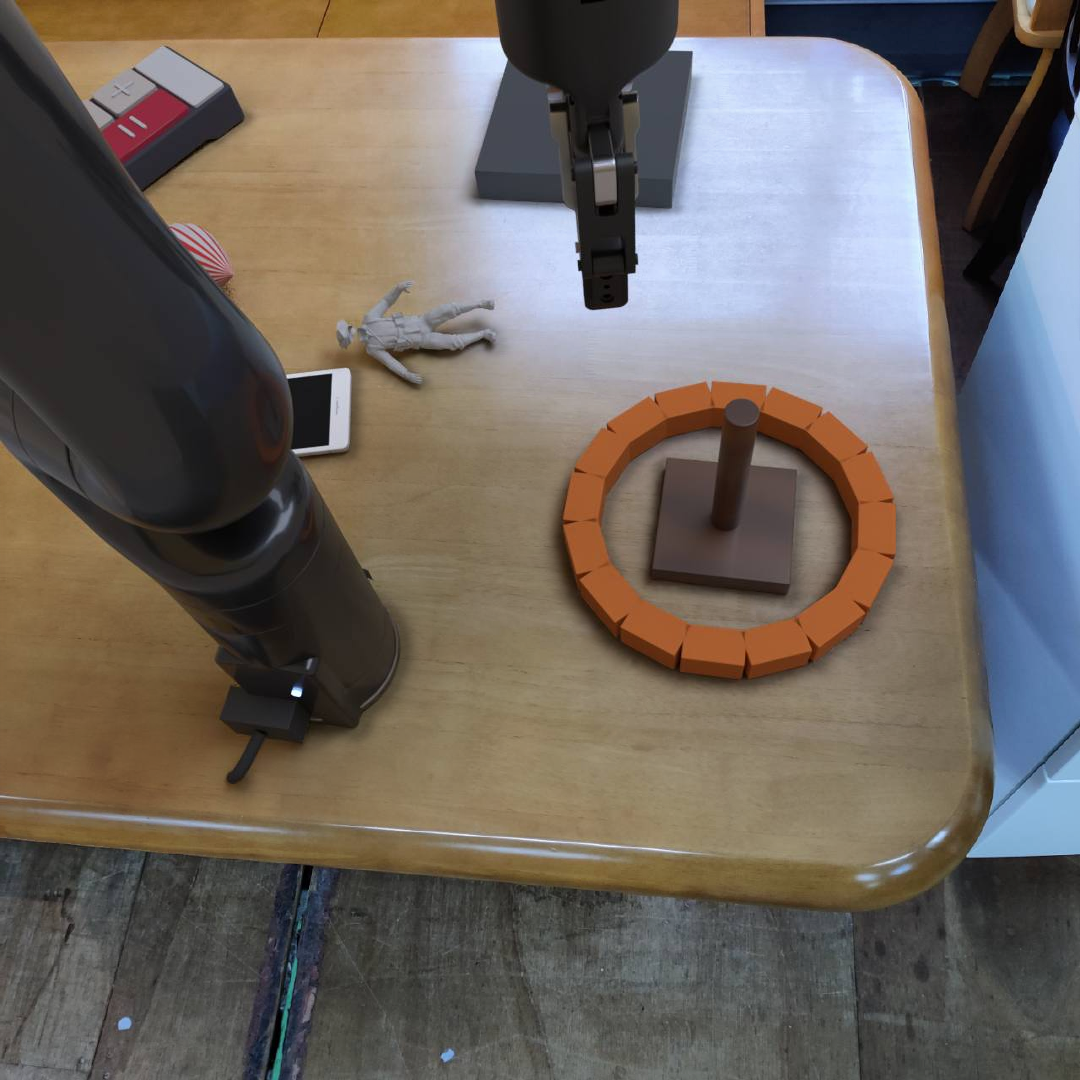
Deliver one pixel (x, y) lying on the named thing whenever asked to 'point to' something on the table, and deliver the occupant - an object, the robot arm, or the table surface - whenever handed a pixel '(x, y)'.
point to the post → (727, 514)
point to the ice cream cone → (205, 251)
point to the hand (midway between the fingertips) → (598, 244)
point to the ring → (715, 645)
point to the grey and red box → (162, 112)
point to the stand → (533, 156)
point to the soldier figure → (410, 330)
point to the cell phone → (321, 411)
